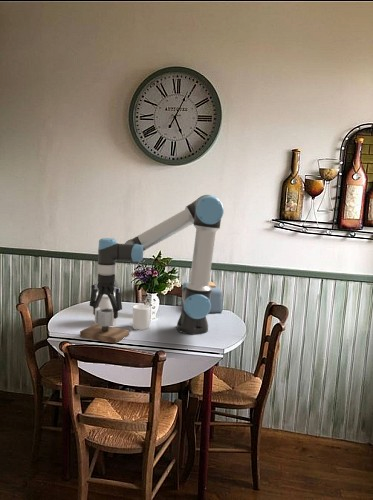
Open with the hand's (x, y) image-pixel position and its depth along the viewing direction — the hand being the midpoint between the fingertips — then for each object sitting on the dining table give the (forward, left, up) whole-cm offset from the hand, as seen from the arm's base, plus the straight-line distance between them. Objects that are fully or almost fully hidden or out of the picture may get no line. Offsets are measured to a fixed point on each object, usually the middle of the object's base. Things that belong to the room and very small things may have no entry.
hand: (105, 323), depth 206 cm
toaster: (-25, -65, -6) cm, 70 cm away
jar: (+10, -16, -6) cm, 20 cm away
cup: (-8, -21, -6) cm, 23 cm away
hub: (0, -1, 0) cm, 1 cm away
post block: (0, 0, -6) cm, 6 cm away
